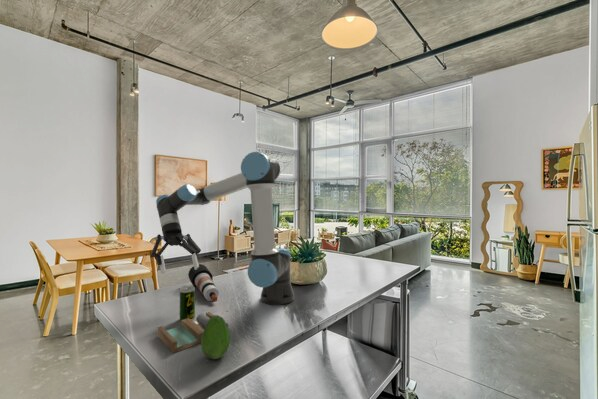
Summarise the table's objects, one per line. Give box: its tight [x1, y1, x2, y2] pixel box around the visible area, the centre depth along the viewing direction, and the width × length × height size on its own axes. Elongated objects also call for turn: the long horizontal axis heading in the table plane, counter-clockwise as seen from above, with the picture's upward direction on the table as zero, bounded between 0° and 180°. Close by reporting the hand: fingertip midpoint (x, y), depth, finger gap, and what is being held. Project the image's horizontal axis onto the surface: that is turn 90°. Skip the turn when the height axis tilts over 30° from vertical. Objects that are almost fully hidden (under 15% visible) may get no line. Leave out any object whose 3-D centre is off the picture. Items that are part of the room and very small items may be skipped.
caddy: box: [157, 311, 229, 354], centre depth 92 cm, size 18×14×3 cm
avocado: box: [200, 314, 231, 360], centre depth 79 cm, size 8×8×12 cm
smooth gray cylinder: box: [195, 313, 210, 327], centre depth 95 cm, size 9×3×3 cm, turn 44°
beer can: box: [179, 285, 196, 322], centre depth 104 cm, size 5×5×12 cm
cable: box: [187, 263, 220, 303], centre depth 133 cm, size 10×34×10 cm, turn 29°
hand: (181, 270), depth 111 cm, fingers open, 13 cm apart
